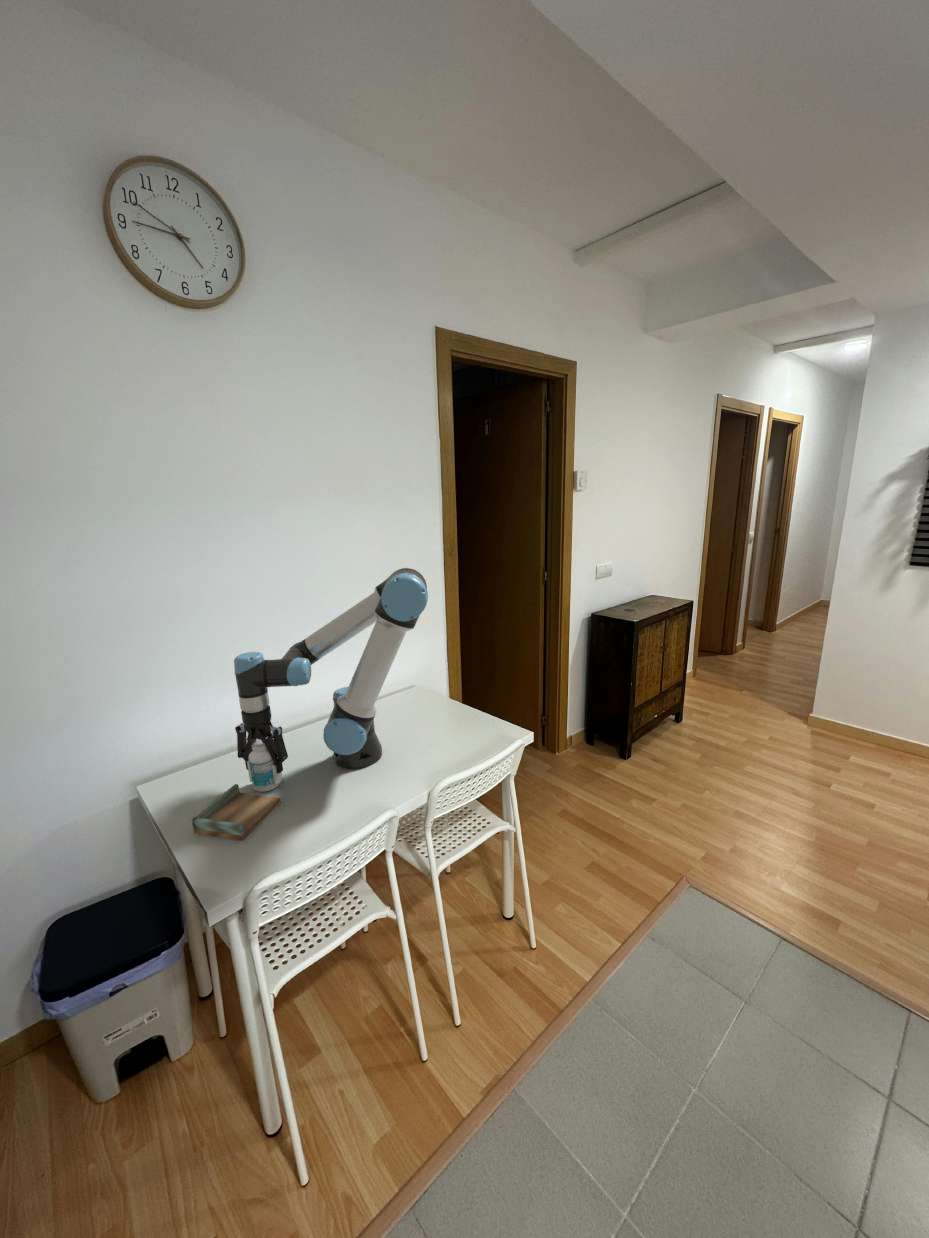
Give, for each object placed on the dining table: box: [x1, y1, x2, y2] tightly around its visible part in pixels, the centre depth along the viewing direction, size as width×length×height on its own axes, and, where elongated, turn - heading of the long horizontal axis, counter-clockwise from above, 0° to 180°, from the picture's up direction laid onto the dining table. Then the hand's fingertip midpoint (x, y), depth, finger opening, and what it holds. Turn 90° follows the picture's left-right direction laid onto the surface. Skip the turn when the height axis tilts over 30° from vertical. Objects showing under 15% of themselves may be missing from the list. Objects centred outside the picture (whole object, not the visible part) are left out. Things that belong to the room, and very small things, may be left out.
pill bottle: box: [248, 740, 280, 793], centre depth 143 cm, size 8×7×14 cm
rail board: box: [191, 783, 282, 842], centre depth 130 cm, size 14×16×4 cm
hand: (266, 780), depth 144 cm, fingers closed on pill bottle, 7 cm apart
